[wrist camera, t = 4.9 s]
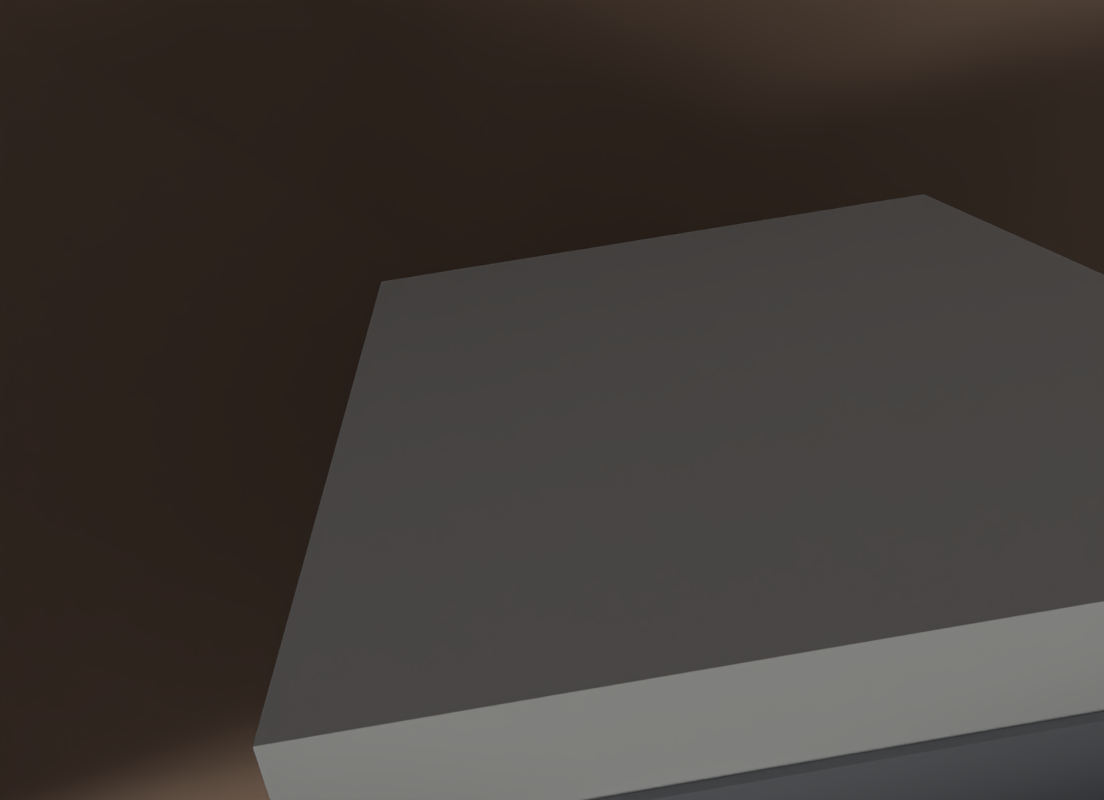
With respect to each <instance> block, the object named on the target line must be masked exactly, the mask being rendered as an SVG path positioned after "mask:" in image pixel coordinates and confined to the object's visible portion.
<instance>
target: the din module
mask: <svg viewBox="0 0 1104 800" xmlns="http://www.w3.org/2000/svg"><path fill="white" fill-rule="evenodd" d="M253 750H254V753H255V756H256V759H257V762H258V765H259V768H260V771H261V774H262V777H263V780H264V783H265V786H266V789H267V792H268V795H269V798H270V800H1104V274H1102V273H1099V272H1097V271H1095V270H1093V269H1090V268H1088V267H1086V266H1084V265H1081V264H1079V263H1077V262H1075V261H1072V260H1070V259H1068V258H1066V257H1063V256H1061V255H1059V254H1057V253H1055V252H1052V251H1050V250H1048V249H1046V248H1043V247H1041V246H1039V245H1037V244H1034V243H1032V242H1030V241H1028V240H1025V239H1023V238H1021V237H1019V236H1016V235H1014V234H1012V233H1010V232H1007V231H1005V230H1003V229H1001V228H999V227H996V226H994V225H992V224H990V223H987V222H985V221H983V220H981V219H978V218H976V217H974V216H972V215H969V214H967V213H965V212H963V211H960V210H958V209H956V208H954V207H951V206H949V205H947V204H945V203H943V202H940V201H938V200H936V199H934V198H931V197H929V196H927V195H925V194H922V195H915V196H909V197H903V198H897V199H891V200H884V201H878V202H872V203H866V204H860V205H853V206H847V207H841V208H835V209H829V210H822V211H816V212H810V213H804V214H798V215H791V216H785V217H779V218H773V219H767V220H760V221H754V222H748V223H742V224H736V225H729V226H723V227H717V228H711V229H705V230H698V231H692V232H686V233H680V234H673V235H667V236H661V237H655V238H649V239H642V240H636V241H630V242H624V243H618V244H611V245H605V246H599V247H593V248H587V249H580V250H574V251H568V252H562V253H556V254H549V255H543V256H537V257H531V258H525V259H518V260H512V261H506V262H500V263H494V264H487V265H481V266H475V267H469V268H463V269H456V270H450V271H444V272H438V273H432V274H425V275H419V276H413V277H407V278H401V279H394V280H388V281H382V282H381V284H380V288H379V291H378V295H377V299H376V302H375V306H374V310H373V313H372V317H371V320H370V324H369V328H368V331H367V335H366V338H365V342H364V346H363V349H362V353H361V356H360V360H359V364H358V367H357V371H356V375H355V378H354V382H353V385H352V389H351V393H350V396H349V400H348V403H347V407H346V411H345V414H344V418H343V422H342V425H341V429H340V432H339V436H338V440H337V443H336V447H335V450H334V454H333V458H332V461H331V465H330V469H329V472H328V476H327V479H326V483H325V487H324V490H323V494H322V497H321V501H320V505H319V508H318V512H317V516H316V519H315V523H314V526H313V530H312V534H311V537H310V541H309V544H308V548H307V552H306V555H305V559H304V562H303V566H302V570H301V573H300V577H299V581H298V584H297V588H296V591H295V595H294V599H293V602H292V606H291V609H290V613H289V617H288V620H287V624H286V628H285V631H284V635H283V638H282V642H281V646H280V649H279V653H278V656H277V660H276V664H275V667H274V671H273V675H272V678H271V682H270V685H269V689H268V693H267V696H266V700H265V703H264V707H263V711H262V714H261V718H260V721H259V725H258V729H257V732H256V736H255V740H254V743H253Z"/></svg>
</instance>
